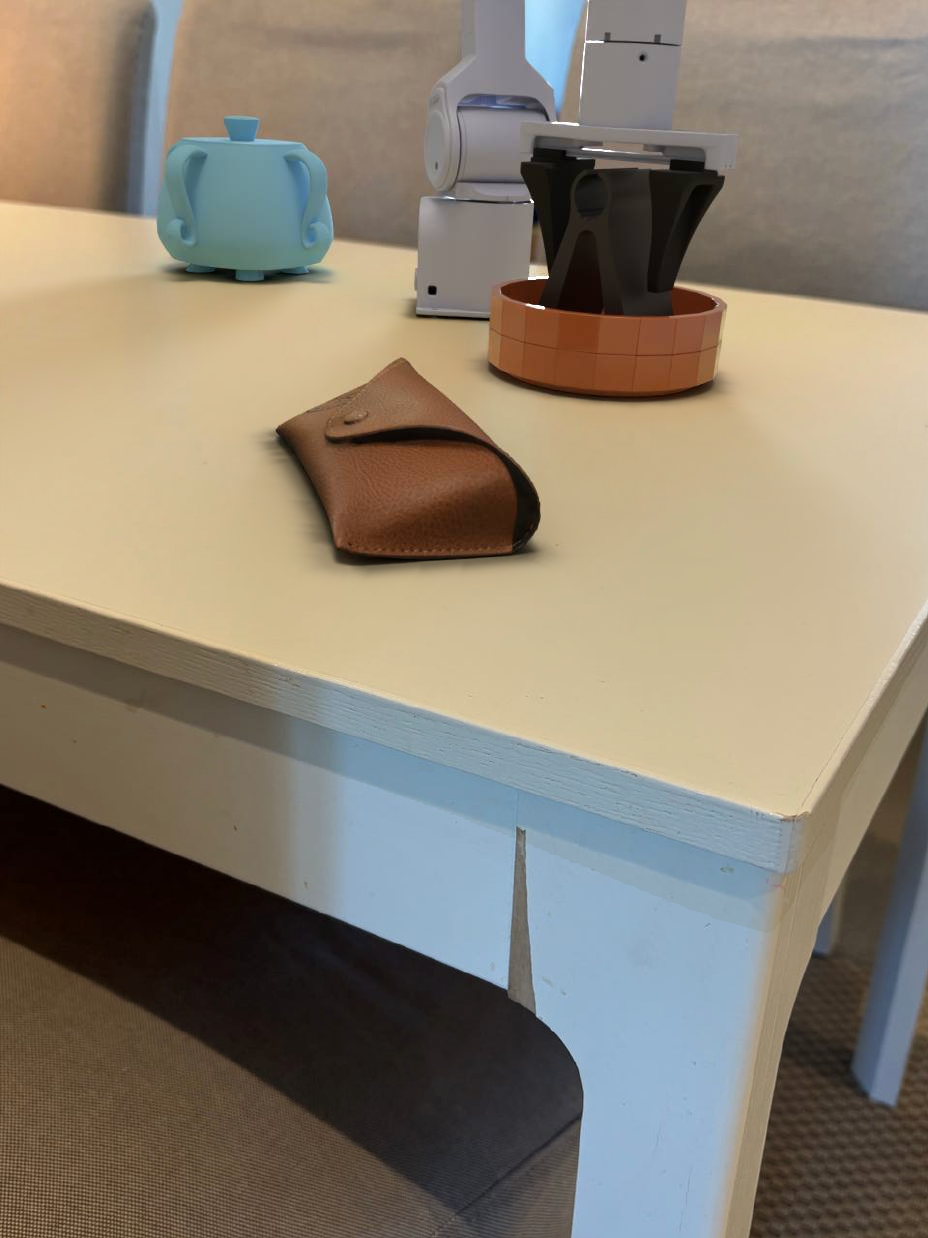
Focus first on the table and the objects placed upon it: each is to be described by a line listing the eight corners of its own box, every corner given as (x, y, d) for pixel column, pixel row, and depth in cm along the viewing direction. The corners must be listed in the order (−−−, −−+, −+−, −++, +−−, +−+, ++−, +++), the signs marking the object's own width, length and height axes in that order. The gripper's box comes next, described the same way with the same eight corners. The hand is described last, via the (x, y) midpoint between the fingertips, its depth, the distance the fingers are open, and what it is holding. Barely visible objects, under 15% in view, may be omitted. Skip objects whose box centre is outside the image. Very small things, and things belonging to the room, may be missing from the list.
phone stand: (681, 368, 71) (707, 173, 66) (633, 382, 67) (657, 175, 61) (570, 344, 76) (586, 162, 71) (519, 356, 72) (532, 163, 67)
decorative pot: (334, 262, 111) (333, 118, 105) (332, 286, 97) (330, 122, 91) (174, 257, 109) (164, 110, 104) (148, 281, 95) (134, 113, 89)
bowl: (486, 394, 65) (491, 310, 63) (487, 342, 79) (491, 271, 76) (735, 406, 65) (748, 323, 63) (693, 352, 78) (703, 282, 76)
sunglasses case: (262, 423, 55) (326, 309, 54) (375, 482, 59) (438, 376, 57) (336, 557, 40) (427, 404, 39) (482, 625, 44) (571, 487, 42)
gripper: (775, 51, 62) (738, 292, 68) (570, 47, 70) (553, 263, 76) (719, 43, 57) (684, 304, 63) (504, 40, 65) (492, 271, 71)
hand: (608, 282), depth 69 cm, fingers open, 7 cm apart
